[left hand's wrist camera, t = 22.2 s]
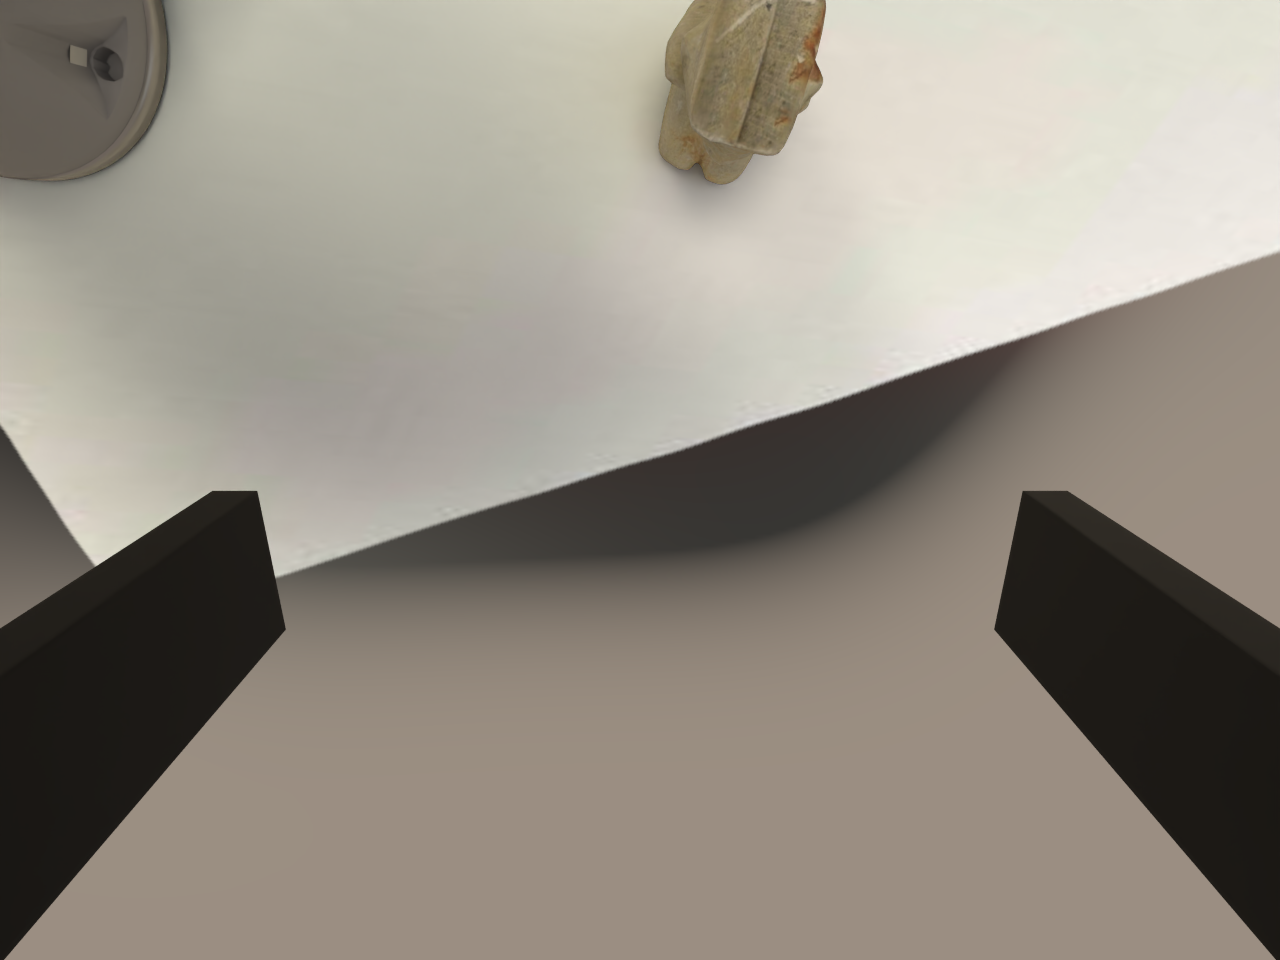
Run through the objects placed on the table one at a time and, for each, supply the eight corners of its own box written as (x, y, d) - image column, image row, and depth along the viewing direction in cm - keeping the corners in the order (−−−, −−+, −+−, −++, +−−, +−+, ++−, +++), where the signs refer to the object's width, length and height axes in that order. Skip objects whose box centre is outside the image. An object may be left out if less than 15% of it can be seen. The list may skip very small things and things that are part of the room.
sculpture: (637, 154, 36) (635, 117, 22) (689, -1, 34) (724, -152, 20) (741, 197, 37) (803, 187, 23) (799, 48, 35) (909, -65, 21)
